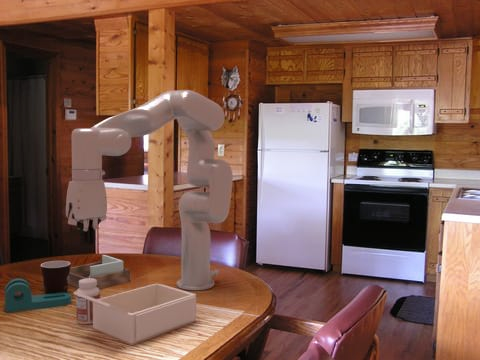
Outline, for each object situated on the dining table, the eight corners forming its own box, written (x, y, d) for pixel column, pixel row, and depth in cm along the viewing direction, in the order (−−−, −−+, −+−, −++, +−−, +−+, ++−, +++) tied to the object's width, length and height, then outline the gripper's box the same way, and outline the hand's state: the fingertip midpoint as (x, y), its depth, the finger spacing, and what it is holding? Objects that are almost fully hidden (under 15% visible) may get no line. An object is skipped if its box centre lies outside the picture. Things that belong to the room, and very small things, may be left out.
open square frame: (100, 272, 191) (100, 261, 190) (130, 281, 180) (130, 269, 180) (59, 281, 178) (59, 270, 177) (88, 291, 167) (88, 279, 167)
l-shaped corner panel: (104, 275, 187) (104, 254, 186) (123, 282, 179) (123, 260, 178) (73, 282, 179) (72, 260, 178) (91, 289, 170) (91, 267, 170)
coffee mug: (61, 301, 158) (61, 268, 157) (35, 299, 159) (34, 266, 158) (80, 290, 169) (80, 259, 168) (56, 288, 171) (55, 257, 170)
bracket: (5, 313, 147) (5, 285, 146) (5, 306, 153) (4, 279, 153) (72, 305, 155) (72, 279, 154) (69, 298, 161) (69, 273, 160)
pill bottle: (99, 315, 146) (98, 276, 145) (101, 323, 140) (101, 282, 139) (75, 318, 144) (75, 278, 143) (76, 325, 138) (76, 284, 137)
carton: (157, 307, 154) (157, 282, 153) (199, 321, 143) (199, 294, 142) (91, 328, 137) (90, 300, 136) (133, 346, 126) (133, 315, 125)
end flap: (92, 299, 135) (74, 291, 130) (128, 312, 125) (110, 304, 121) (91, 301, 134) (73, 293, 130) (127, 314, 125) (108, 306, 121)
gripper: (102, 173, 147) (103, 238, 148) (52, 176, 135) (54, 247, 137) (119, 175, 142) (120, 242, 144) (69, 178, 130) (70, 251, 132)
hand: (87, 244), depth 140 cm, fingers closed
